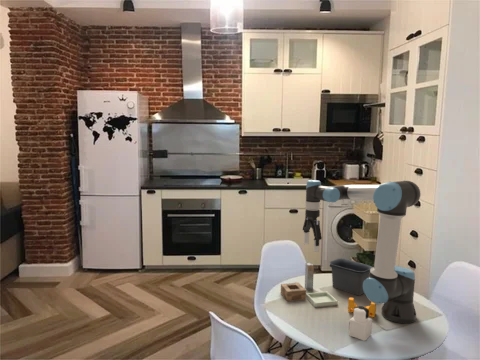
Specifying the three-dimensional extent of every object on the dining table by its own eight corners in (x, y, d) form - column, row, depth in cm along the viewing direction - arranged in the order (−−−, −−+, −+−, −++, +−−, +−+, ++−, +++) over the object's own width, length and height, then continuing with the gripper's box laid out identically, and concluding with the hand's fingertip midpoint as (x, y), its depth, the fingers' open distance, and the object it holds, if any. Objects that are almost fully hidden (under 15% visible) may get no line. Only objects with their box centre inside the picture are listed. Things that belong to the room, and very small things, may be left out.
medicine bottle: (355, 329, 172) (356, 302, 171) (371, 334, 168) (373, 307, 166) (348, 335, 167) (349, 308, 165) (364, 341, 162) (366, 313, 161)
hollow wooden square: (305, 299, 202) (305, 290, 201) (287, 301, 199) (287, 291, 199) (298, 291, 211) (298, 282, 211) (280, 293, 209) (280, 284, 208)
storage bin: (325, 287, 218) (326, 262, 216) (340, 280, 229) (342, 256, 227) (360, 299, 203) (361, 272, 201) (375, 291, 213) (376, 265, 212)
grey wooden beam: (312, 289, 214) (313, 264, 212) (307, 290, 213) (307, 265, 212) (310, 287, 217) (311, 262, 216) (304, 287, 217) (305, 263, 215)
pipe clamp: (375, 314, 187) (376, 301, 186) (374, 317, 183) (374, 304, 182) (349, 308, 192) (350, 295, 192) (347, 312, 189) (348, 299, 188)
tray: (337, 305, 195) (337, 301, 195) (315, 307, 193) (315, 303, 192) (326, 295, 207) (327, 291, 207) (305, 297, 204) (305, 293, 204)
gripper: (329, 213, 199) (327, 254, 202) (310, 204, 223) (308, 241, 226) (315, 214, 198) (313, 255, 200) (297, 204, 222) (296, 241, 224)
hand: (311, 247), depth 213 cm, fingers open, 13 cm apart
